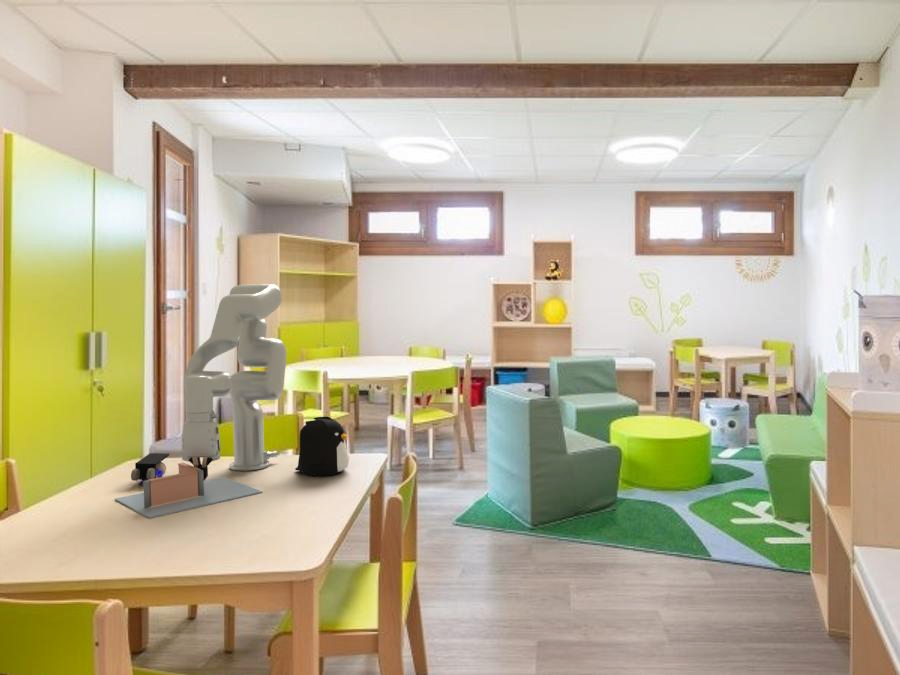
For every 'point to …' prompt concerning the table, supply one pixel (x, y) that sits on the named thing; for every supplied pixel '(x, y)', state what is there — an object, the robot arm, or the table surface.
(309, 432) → the penguin
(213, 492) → the card
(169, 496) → the fence fixed
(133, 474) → the black toy car
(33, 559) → the table surface
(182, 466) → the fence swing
